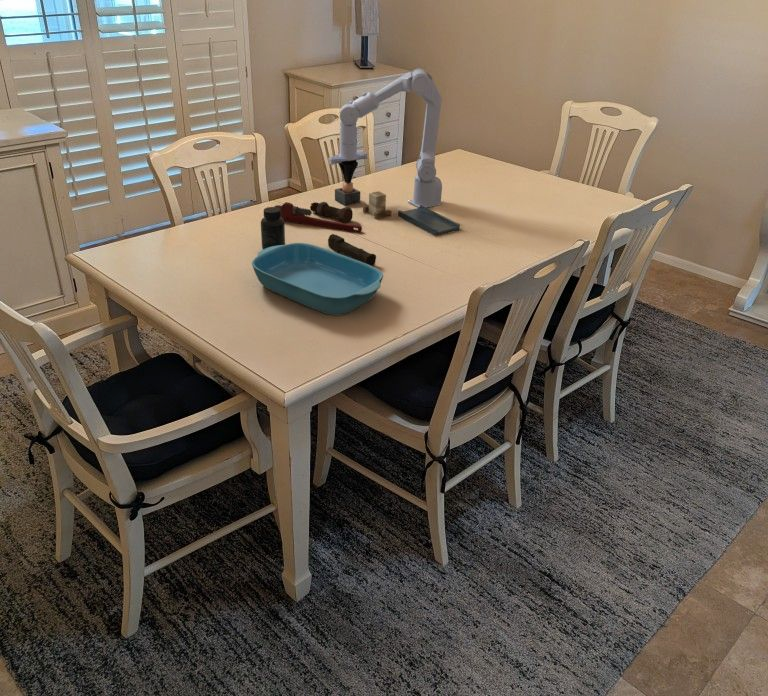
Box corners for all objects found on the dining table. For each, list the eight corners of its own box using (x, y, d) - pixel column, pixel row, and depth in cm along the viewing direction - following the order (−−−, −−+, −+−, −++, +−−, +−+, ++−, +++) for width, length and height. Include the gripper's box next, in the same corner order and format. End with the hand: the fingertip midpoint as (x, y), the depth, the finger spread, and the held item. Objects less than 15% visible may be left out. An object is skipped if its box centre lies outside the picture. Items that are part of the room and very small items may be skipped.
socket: (377, 208, 234) (377, 203, 233) (390, 216, 229) (391, 210, 228) (362, 211, 231) (363, 206, 230) (376, 219, 226) (376, 213, 225)
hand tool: (376, 266, 196) (377, 250, 193) (366, 269, 193) (366, 254, 191) (335, 244, 208) (335, 230, 205) (325, 247, 205) (325, 233, 203)
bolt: (314, 216, 231) (349, 226, 223) (305, 213, 227) (341, 222, 219) (319, 200, 230) (354, 209, 223) (310, 196, 226) (346, 205, 219)
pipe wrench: (360, 236, 215) (271, 221, 221) (362, 233, 217) (274, 218, 223) (360, 216, 212) (270, 201, 218) (363, 213, 214) (274, 199, 220)
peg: (378, 211, 232) (379, 191, 229) (385, 215, 230) (386, 194, 226) (368, 213, 230) (369, 193, 227) (375, 217, 228) (376, 196, 224)
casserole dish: (398, 297, 180) (400, 272, 176) (345, 330, 164) (346, 304, 160) (293, 259, 197) (292, 235, 194) (236, 285, 182) (234, 260, 178)
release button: (349, 192, 240) (349, 181, 238) (354, 195, 238) (354, 184, 235) (340, 193, 238) (340, 182, 236) (346, 196, 236) (346, 185, 234)
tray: (421, 210, 234) (421, 205, 233) (459, 230, 221) (460, 224, 220) (397, 216, 229) (397, 210, 228) (435, 236, 216) (436, 230, 215)
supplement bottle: (270, 242, 206) (268, 203, 200) (289, 246, 204) (288, 208, 198) (257, 249, 201) (255, 210, 195) (276, 255, 199) (275, 215, 192)
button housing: (350, 197, 243) (350, 186, 241) (360, 202, 239) (360, 191, 237) (334, 200, 240) (334, 189, 238) (344, 205, 235) (344, 194, 233)
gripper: (359, 137, 235) (358, 175, 242) (323, 142, 227) (323, 182, 234) (371, 142, 230) (370, 181, 237) (334, 147, 223) (334, 188, 230)
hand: (347, 182), depth 236 cm, fingers closed
